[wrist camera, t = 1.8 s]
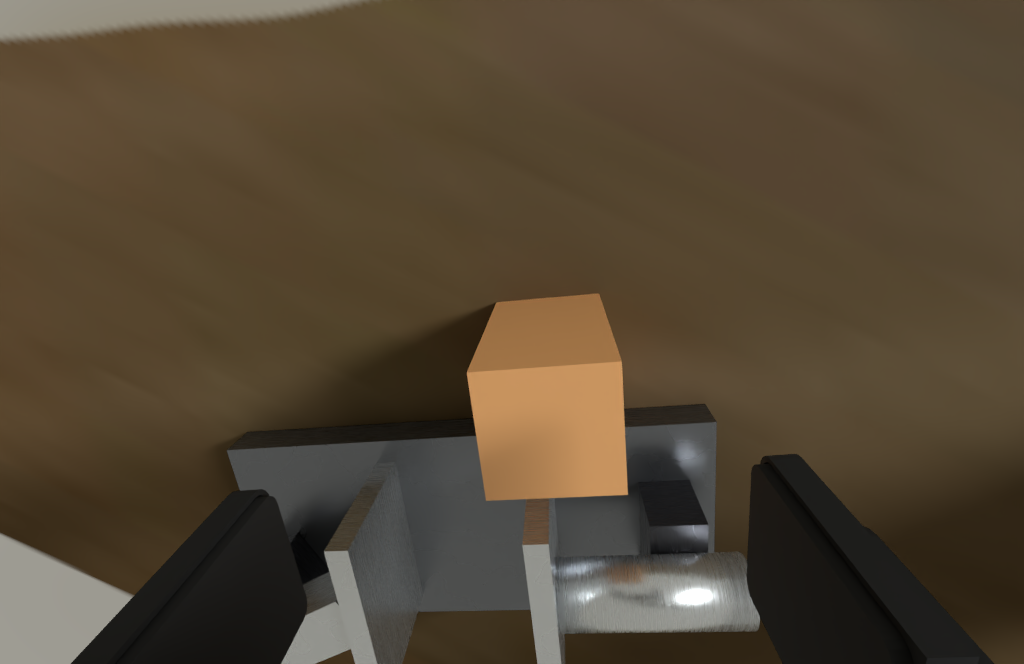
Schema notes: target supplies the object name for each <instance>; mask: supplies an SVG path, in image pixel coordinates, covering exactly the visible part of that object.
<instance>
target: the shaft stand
mask: <svg viewBox="0 0 1024 664" xmlns="http://www.w3.org/2000/svg"><path fill="white" fill-rule="evenodd" d="M624 421H625V443H626V465H627V487H628V495H613V496H589V497H565V498H541V499H517V500H492V501H486V497H485V490H484V484H483V477H482V471H481V464H480V457H479V451H478V444H477V437H476V431H475V424H474V418H471V419H455V420H438V421H422V422H406V423H390V424H373V425H357V426H341V427H325V428H308V429H292V430H276V431H260V432H247V433H246V434H245V435H244V436H242V437H241V438H240V439H239V440H238V441H237V442H236V443H234V444H233V445H232V446H231V447H230V448H229V449H228V450H227V453H228V456H229V459H230V462H231V465H232V468H233V471H234V474H235V477H236V480H237V483H238V486H239V489H240V491H242V490H257V489H263V490H266V491H267V492H268V494H269V496H273V497H274V498H275V499H276V501H277V503H278V506H279V509H280V513H281V516H282V519H283V522H284V525H285V529H286V532H287V535H288V538H289V542H290V545H291V548H292V551H293V555H294V558H295V561H296V564H297V568H298V571H299V574H300V577H301V581H302V584H303V587H304V590H305V593H306V597H307V611H306V615H305V618H304V620H303V622H302V624H301V626H300V628H299V630H298V632H297V634H296V636H295V638H294V640H293V642H292V644H291V646H290V647H289V649H288V651H287V653H286V655H285V657H284V659H283V661H282V663H281V664H315V663H318V662H320V661H323V660H325V659H327V658H330V657H332V656H335V655H337V654H339V653H342V652H344V651H347V650H349V649H351V650H352V654H353V657H354V661H355V664H402V662H403V659H404V656H405V653H406V649H407V646H408V643H409V639H410V636H411V633H412V630H413V626H414V623H415V620H416V616H417V613H418V612H427V611H483V610H531V616H532V624H533V632H534V640H535V648H536V655H537V663H538V664H565V634H579V633H660V632H740V631H757V630H758V628H759V625H760V616H759V614H758V612H757V610H756V608H755V606H754V604H753V601H752V599H751V597H750V594H749V590H748V586H747V560H746V558H745V557H744V555H743V554H742V553H741V552H714V533H715V478H716V424H717V422H716V420H715V419H714V417H713V416H712V414H711V413H710V411H709V409H708V408H707V406H706V405H705V404H698V405H682V406H666V407H650V408H633V409H624Z"/></svg>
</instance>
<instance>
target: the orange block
mask: <svg viewBox="0 0 1024 664" xmlns="http://www.w3.org/2000/svg"><path fill="white" fill-rule="evenodd" d="M467 378H468V384H469V391H470V398H471V404H472V411H473V418H474V424H475V431H476V437H477V444H478V451H479V457H480V464H481V471H482V477H483V484H484V490H485V497H486V501H492V500H517V499H541V498H565V497H589V496H613V495H628V487H627V465H626V443H625V421H624V399H623V377H622V361H621V358H620V355H619V352H618V349H617V346H616V343H615V340H614V337H613V334H612V331H611V328H610V325H609V322H608V319H607V316H606V313H605V310H604V307H603V304H602V301H601V298H600V295H599V293H598V294H587V295H575V296H564V297H552V298H541V299H529V300H518V301H506V302H496V305H495V307H494V309H493V312H492V314H491V316H490V319H489V321H488V324H487V326H486V328H485V331H484V333H483V335H482V338H481V340H480V342H479V345H478V347H477V349H476V352H475V354H474V357H473V359H472V361H471V364H470V366H469V368H468V371H467Z"/></svg>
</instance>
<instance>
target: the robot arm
mask: <svg viewBox="0 0 1024 664" xmlns="http://www.w3.org/2000/svg"><path fill="white" fill-rule="evenodd" d="M747 586H748V590H749V594H750V597H751V599H752V601H753V604H754V606H755V608H756V610H757V612H758V614H759V616H760V618H761V620H762V622H763V624H764V626H765V628H766V630H767V632H768V634H769V636H770V638H771V640H772V642H773V644H774V646H775V649H776V651H777V653H778V655H779V657H780V659H781V661H782V663H783V664H994V663H993V662H992V661H991V660H990V659H989V658H988V656H987V655H986V654H985V653H984V652H983V651H982V650H981V649H980V648H979V647H978V645H977V644H976V643H975V642H974V641H973V640H972V639H971V638H970V637H969V636H968V634H967V633H966V632H965V631H964V630H963V629H962V628H961V627H960V626H959V625H958V623H957V622H956V621H955V620H954V619H953V618H952V617H951V616H950V615H949V614H948V613H947V611H946V610H945V609H944V608H943V607H942V606H941V605H940V604H939V603H938V602H937V600H936V599H935V598H934V597H933V596H932V595H931V594H930V593H929V592H928V591H927V589H926V588H925V587H924V586H923V585H922V584H921V583H920V582H919V581H918V580H917V579H916V577H915V576H914V575H913V574H912V573H911V572H910V571H909V570H908V569H907V568H906V566H905V565H904V564H903V563H902V562H901V561H900V560H899V559H898V558H897V557H896V555H895V554H894V553H893V552H892V551H891V550H890V549H889V548H888V547H887V546H886V545H885V543H884V542H883V541H882V540H881V539H880V538H879V537H878V536H877V535H876V534H875V533H874V532H873V531H872V530H870V529H869V528H866V527H864V526H862V525H861V524H860V523H859V521H858V520H857V519H856V518H855V517H854V516H853V515H852V514H851V512H850V511H849V510H848V509H847V508H846V507H845V506H844V505H843V504H842V502H841V501H840V500H839V499H838V498H837V497H836V496H835V495H834V493H833V492H832V491H831V490H830V489H829V488H828V487H827V486H826V485H825V483H824V482H823V481H822V480H821V479H820V478H819V477H818V476H817V474H816V473H815V472H814V471H813V470H812V469H811V468H810V467H809V466H808V464H807V463H806V462H805V461H804V460H803V459H802V458H801V457H800V456H799V455H797V454H788V455H773V456H764V457H763V458H762V460H761V464H758V465H754V466H753V467H752V472H751V493H750V515H749V536H748V558H747ZM306 611H307V597H306V593H305V590H304V587H303V584H302V581H301V577H300V574H299V571H298V568H297V564H296V561H295V558H294V555H293V551H292V548H291V545H290V542H289V538H288V535H287V532H286V529H285V525H284V522H283V519H282V516H281V513H280V509H279V506H278V503H277V501H276V499H275V498H274V497H273V496H269V494H268V492H267V491H266V490H263V489H257V490H242V491H234V492H232V493H231V494H229V495H228V496H227V497H226V498H225V500H224V501H223V502H222V503H221V504H220V505H219V506H218V507H217V508H216V509H215V510H214V511H213V512H212V513H211V514H210V516H209V517H208V518H207V519H206V520H205V521H204V522H203V523H202V524H201V525H200V526H199V527H198V528H197V529H196V530H195V532H194V533H193V534H192V535H191V536H190V537H189V538H188V539H187V540H186V541H185V542H184V543H183V544H182V545H181V547H180V548H179V549H178V550H177V551H176V552H175V553H174V554H173V555H172V556H171V557H170V558H169V559H168V560H167V561H166V563H165V564H164V565H163V566H162V567H161V568H160V569H159V570H158V571H157V572H156V573H155V574H154V575H153V576H152V577H151V579H150V580H149V581H148V582H147V583H146V584H145V585H144V586H143V587H142V588H141V589H140V590H139V591H138V592H137V594H136V595H135V596H134V597H133V598H132V599H131V600H130V601H129V602H128V603H127V604H126V605H125V607H123V608H122V610H121V611H120V612H119V613H118V614H117V615H116V616H115V617H114V618H113V619H112V620H111V621H110V622H109V623H108V624H107V626H106V627H105V628H104V629H103V630H102V631H101V632H100V633H99V634H98V635H97V636H96V637H95V639H94V640H93V641H92V642H91V643H90V644H89V645H88V646H87V647H86V648H85V649H84V650H83V651H82V652H81V653H80V654H79V655H78V657H77V658H76V659H75V660H74V661H73V662H72V663H71V664H281V663H282V661H283V659H284V657H285V655H286V653H287V651H288V649H289V647H290V646H291V644H292V642H293V640H294V638H295V636H296V634H297V632H298V630H299V628H300V626H301V624H302V622H303V620H304V618H305V615H306Z"/></svg>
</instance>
